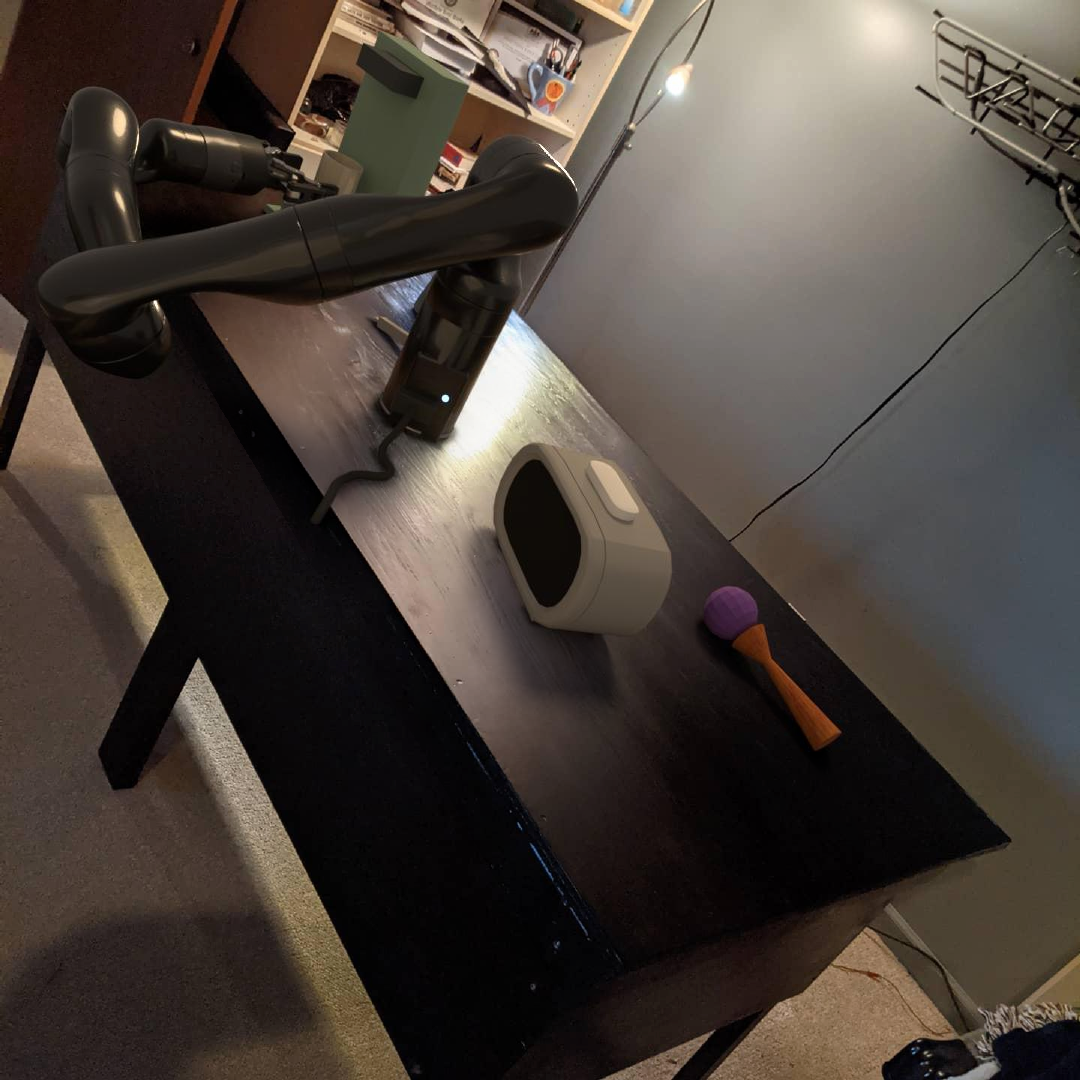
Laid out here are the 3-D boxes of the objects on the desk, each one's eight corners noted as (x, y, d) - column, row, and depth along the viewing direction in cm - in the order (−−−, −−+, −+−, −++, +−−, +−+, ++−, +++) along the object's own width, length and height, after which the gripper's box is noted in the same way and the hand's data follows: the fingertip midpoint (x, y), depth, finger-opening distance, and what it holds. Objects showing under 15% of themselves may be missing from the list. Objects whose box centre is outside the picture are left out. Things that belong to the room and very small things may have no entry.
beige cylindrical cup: (335, 243, 128) (360, 174, 122) (296, 225, 126) (320, 154, 120) (341, 232, 132) (366, 165, 127) (304, 214, 131) (328, 146, 125)
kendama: (826, 734, 83) (709, 581, 92) (793, 764, 87) (684, 613, 96) (862, 718, 86) (745, 571, 96) (828, 747, 90) (720, 603, 100)
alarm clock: (478, 512, 92) (534, 412, 85) (550, 526, 97) (608, 433, 90) (538, 655, 78) (610, 549, 71) (618, 663, 83) (693, 564, 76)
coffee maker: (319, 260, 124) (392, 57, 109) (263, 211, 128) (326, 9, 113) (395, 266, 137) (470, 85, 122) (342, 221, 141) (407, 41, 126)
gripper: (184, 161, 114) (281, 178, 127) (245, 216, 109) (339, 228, 122) (198, 105, 110) (296, 129, 123) (262, 160, 105) (357, 179, 118)
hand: (318, 178), depth 122 cm, fingers open, 8 cm apart
